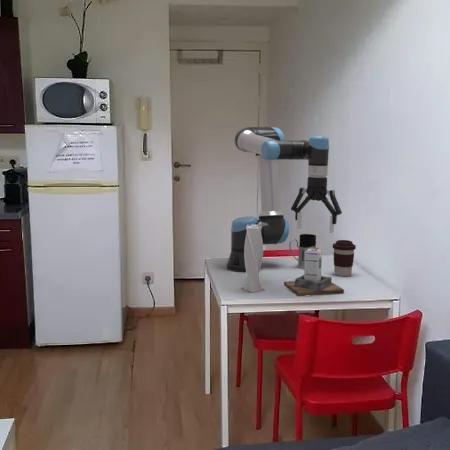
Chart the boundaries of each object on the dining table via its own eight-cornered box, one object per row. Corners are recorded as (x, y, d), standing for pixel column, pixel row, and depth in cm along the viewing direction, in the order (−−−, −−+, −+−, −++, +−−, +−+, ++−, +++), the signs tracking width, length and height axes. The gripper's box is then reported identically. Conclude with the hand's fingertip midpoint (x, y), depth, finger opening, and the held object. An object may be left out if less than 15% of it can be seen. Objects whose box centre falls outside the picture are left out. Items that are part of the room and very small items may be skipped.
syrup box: (318, 288, 225) (319, 251, 222) (303, 286, 227) (304, 250, 224) (321, 284, 230) (322, 249, 228) (306, 283, 232) (307, 248, 230)
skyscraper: (268, 291, 225) (269, 221, 221) (251, 294, 221) (252, 223, 216) (255, 286, 232) (256, 218, 228) (239, 289, 228) (240, 220, 223)
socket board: (283, 285, 234) (284, 274, 233) (326, 282, 238) (327, 272, 238) (298, 296, 218) (298, 284, 218) (343, 293, 223) (344, 282, 222)
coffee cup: (354, 277, 247) (356, 243, 245) (331, 276, 249) (332, 242, 247) (354, 272, 257) (355, 239, 254) (331, 271, 259) (333, 238, 256)
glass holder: (319, 268, 264) (321, 236, 262) (294, 271, 258) (295, 238, 256) (308, 264, 272) (310, 233, 270) (283, 267, 266) (284, 235, 263)
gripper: (284, 175, 224) (282, 228, 228) (345, 179, 212) (342, 235, 215) (291, 174, 231) (290, 225, 234) (351, 177, 218) (348, 232, 222)
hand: (315, 230), depth 225 cm, fingers open, 13 cm apart
